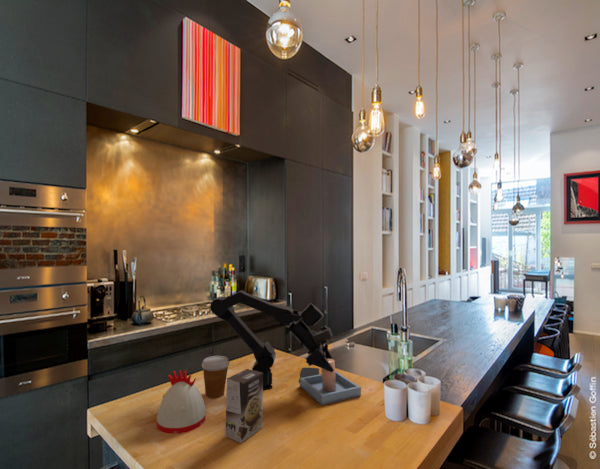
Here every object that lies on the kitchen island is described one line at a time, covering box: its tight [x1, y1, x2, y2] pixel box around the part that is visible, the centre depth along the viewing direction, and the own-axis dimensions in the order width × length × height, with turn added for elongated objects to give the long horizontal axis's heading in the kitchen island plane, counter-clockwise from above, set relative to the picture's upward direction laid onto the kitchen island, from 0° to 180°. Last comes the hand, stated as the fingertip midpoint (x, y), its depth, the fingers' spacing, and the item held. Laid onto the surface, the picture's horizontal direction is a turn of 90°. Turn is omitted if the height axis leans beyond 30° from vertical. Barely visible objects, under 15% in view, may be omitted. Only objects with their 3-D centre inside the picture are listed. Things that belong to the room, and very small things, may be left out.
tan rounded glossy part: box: [320, 358, 336, 392], centre depth 123 cm, size 5×5×10 cm
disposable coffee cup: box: [201, 355, 230, 399], centre depth 119 cm, size 10×10×12 cm
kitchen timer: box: [156, 369, 207, 435], centre depth 102 cm, size 14×14×15 cm
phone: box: [298, 367, 320, 384], centre depth 136 cm, size 7×1×15 cm
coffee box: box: [224, 368, 264, 444], centre depth 96 cm, size 9×6×16 cm
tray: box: [299, 370, 362, 406], centre depth 123 cm, size 16×16×3 cm
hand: (333, 367), depth 123 cm, fingers open, 7 cm apart
